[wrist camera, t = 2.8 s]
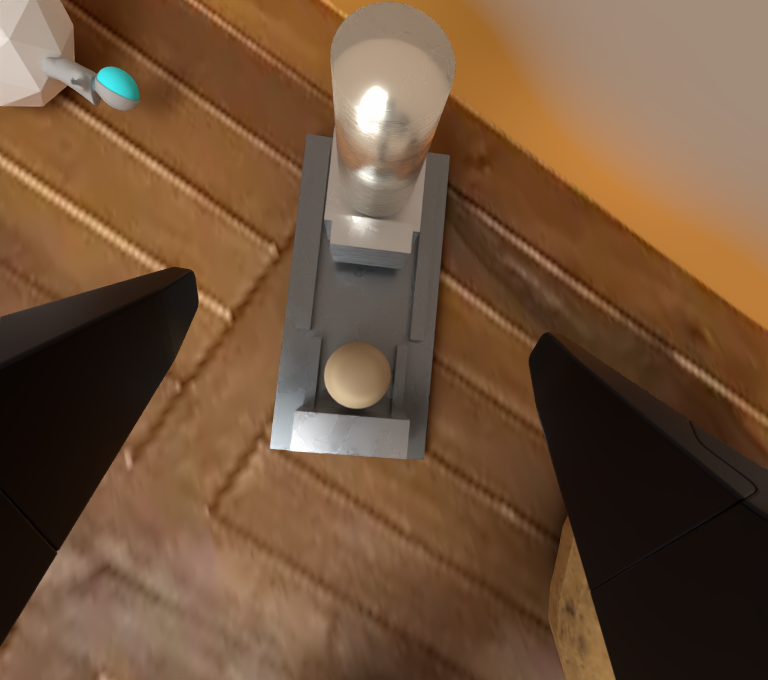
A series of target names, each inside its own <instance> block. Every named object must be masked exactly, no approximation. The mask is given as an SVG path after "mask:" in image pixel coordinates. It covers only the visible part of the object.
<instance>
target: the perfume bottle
mask: <svg viewBox="0 0 768 680" xmlns="http://www.w3.org/2000/svg"><path fill="white" fill-rule="evenodd" d="M66 86H70V87H71V88H72V89H74V90H75V91H77V92H78V93H80V94H81V95H82V96H84V97H85V98H86V99H87V100H89V101H90V102H91V103H92V104H94V105H99V102H100V99H101V98H102V99H103V100H104V101H105V102H106V103H107V104H109V105H110V106H112V107H113V108H116V109H118V110H123V111H128V110H132V109H134V108H135V107H136V106H137V105H138V104H139V103H140V98H139V97H140V94H139V89H138V86H137V84H136V82H135V81H134V79H133V78H132V77H131V76H130V75H129V74H128V73H126V72H125V71H123V70H121V69H119V68H116V67H105V68H103V69H101V70H100V71H99V73H98V74H97V73H95V72H93V71H91V70H89V69H87V68H85V67H83V66H81V65H79V64H78V63H76V62H75V55H74V28H73V23H72V21H71V20H70V18H69V16H68V14H67V12H66V10H65V8H64V6H63V4H62V3H61V1H60V0H0V106H30V107H43V106H45V105H46V104H47V103H48V102H49V101H50V100H51V99H53V98H54V97H55V96H56V95H57V94H58V93H60V92H61V91H62V90H63V89H64V88H65V87H66Z"/></svg>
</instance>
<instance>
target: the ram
mask: <svg viewBox="0 0 768 680" xmlns="http://www.w3.org/2000/svg"><path fill="white" fill-rule="evenodd" d="M331 72H332V87H333V101H334V116H335V127H334V136H333V145H332V154H331V163H330V172H329V181H328V190H327V199H326V208H325V217H324V221H325V227H326V232H327V237H328V240H330V247H331V253H332V258H333V261H337V262H345V263H354V264H362V265H370V266H379V267H387V268H395V269H402V268H403V267H404V265H405V263H406V261H407V259H408V257H409V256H410V254H411V248H412V246H413V244H414V242H415V240H416V238H417V236H418V234H419V233H420V224H421V213H422V202H423V191H424V180H425V169H426V158H427V153H428V150H429V148H430V145H431V142H432V139H433V137H434V134H435V131H436V128H437V126H438V123H439V120H440V117H441V115H442V112H443V109H444V106H445V104H446V101H447V98H448V95H449V93H450V90H451V87H452V84H453V81H454V76H455V57H454V53H453V49H452V46H451V44H450V41H449V39H448V37H447V36H446V34H445V33H444V31H443V30H442V28H441V27H440V26H439V25H438V24H437V23H436V22H435V21H434V20H433V19H432V18H431V17H430V16H428V15H427V14H425V13H424V12H422V11H420V10H418V9H416V8H414V7H412V6H408V5H405V4H401V3H395V2H380V3H374V4H370V5H367V6H365V7H362V8H360V9H358V10H357V11H355V12H353V13H352V14H351V15H350V16H348V17H347V18H346V19H345V20H344V21H343V23H342V24H341V25H340V27H339V28H338V30H337V32H336V34H335V36H334V39H333V42H332V47H331Z"/></svg>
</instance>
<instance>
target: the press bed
mask: <svg viewBox="0 0 768 680" xmlns="http://www.w3.org/2000/svg"><path fill="white" fill-rule="evenodd" d="M332 145H333V138H332V137H325V136H318V135H312V134H307V136H306V145H305V153H304V162H303V170H302V179H301V187H300V196H299V205H298V213H297V222H296V230H295V239H294V247H293V256H292V265H291V273H290V282H289V290H288V299H287V307H286V316H285V324H284V333H283V342H282V350H281V359H280V367H279V376H278V384H277V393H276V402H275V410H274V419H273V427H272V436H271V444H270V448H271V449H285V450H290V451H302V452H316V453H329V454H343V455H357V456H370V457H384V458H398V459H407V458H408V459H421V460H424V453H425V441H426V429H427V417H428V406H429V394H430V382H431V371H432V359H433V347H434V336H435V324H436V312H437V301H438V289H439V277H440V265H441V254H442V242H443V230H444V219H445V207H446V195H447V184H448V172H449V160H450V155H445V154H438V153H431V152H428V153H427V158H426V169H425V180H424V191H423V202H422V213H421V224H420V233H419V234H418V236H417V238H416V240H415V242H414V244H413V246H412V248H411V254H410V256H409V257H408V259H407V261H406V263H405V265H404V267H403V268H402V269H395V268H387V267H379V266H370V265H362V264H354V263H345V262H337V261H333V258H332V253H331V247H330V240H328V237H327V232H326V227H325V221H324V217H325V208H326V199H327V190H328V181H329V172H330V163H331V154H332ZM352 342H363V343H368V344H370V345H372V346H374V347H376V348H377V349H379V350H380V351H381V352H382V353H383V354H384V356H385V357H386V359H387V361H388V363H389V366H390V371H391V379H390V384H389V387H388V390H387V391H386V393H385V395H384V396H383V397H382V398H381V399H380V400H379V401H378V402H377V403H375V404H374V405H371V406H369V407H366V408H361V409H354V408H348V407H345V406H343V405H341V404H339V403H338V402H337V401H335V400H334V399H333V398H332V396H331V395H330V394H329V392H328V390H327V388H326V385H325V380H324V371H325V366H326V364H327V361H328V359H329V357H330V356H331V355H332V354H333V352H334V351H335V350H337V349H338V348H339V347H341V346H343V345H345V344H348V343H352Z"/></svg>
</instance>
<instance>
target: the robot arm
mask: <svg viewBox="0 0 768 680" xmlns="http://www.w3.org/2000/svg"><path fill="white" fill-rule="evenodd" d="M198 302H199V300H198V292H197V285H196V278H195V274H194V272H193V271H192V270H190V269H185V268H179V267H171V268H167V269H164V270H160V271H157V272H154V273H150V274H147V275H143V276H140V277H136V278H133V279H129V280H126V281H122V282H119V283H115V284H112V285H109V286H105V287H102V288H98V289H95V290H91V291H88V292H84V293H81V294H77V295H74V296H71V297H67V298H64V299H60V300H57V301H53V302H50V303H46V304H43V305H39V306H36V307H32V308H29V309H26V310H22V311H19V312H15V313H12V314H8V315H5V316H2V317H1V318H0V647H1V645H2V644H3V642H4V641H5V639H6V637H7V636H8V634H9V632H10V631H11V629H12V627H13V626H14V624H15V622H16V621H17V619H18V617H19V616H20V614H21V613H22V611H23V609H24V608H25V606H26V604H27V603H28V601H29V599H30V598H31V596H32V594H33V593H34V591H35V590H36V588H37V586H38V585H39V583H40V581H41V580H42V578H43V576H44V575H45V573H46V571H47V570H48V568H49V566H50V565H51V563H52V562H53V560H54V558H55V557H56V555H57V551H58V550H59V549H60V548H61V546H62V544H63V543H64V541H65V540H66V538H67V536H68V535H69V533H70V531H71V530H72V528H73V526H74V525H75V523H76V521H77V520H78V518H79V516H80V515H81V513H82V512H83V510H84V508H85V507H86V505H87V503H88V502H89V500H90V498H91V497H92V495H93V493H94V492H95V490H96V489H97V487H98V485H99V484H100V482H101V480H102V479H103V477H104V475H105V474H106V472H107V470H108V469H109V467H110V465H111V464H112V462H113V461H114V459H115V457H116V456H117V454H118V452H119V451H120V449H121V447H122V446H123V444H124V442H125V441H126V439H127V438H128V436H129V434H130V433H131V431H132V429H133V428H134V426H135V424H136V423H137V421H138V419H139V418H140V416H141V414H142V413H143V411H144V410H145V408H146V406H147V405H148V403H149V401H150V400H151V398H152V396H153V395H154V393H155V391H156V390H157V388H158V387H159V385H160V383H161V382H162V380H163V378H164V377H165V375H166V373H167V372H168V370H169V368H170V367H171V365H172V363H173V362H174V360H175V358H176V356H177V354H178V352H179V350H180V347H181V345H182V343H183V340H184V338H185V336H186V334H187V331H188V329H189V327H190V324H191V322H192V320H193V318H194V315H195V313H196V311H197V308H198ZM529 367H530V373H531V379H532V385H533V391H534V396H535V402H536V407H537V412H538V415H539V419H540V422H541V426H542V429H543V433H544V436H545V440H546V443H547V446H548V450H549V453H550V457H551V460H552V463H553V467H554V470H555V474H556V477H557V481H558V484H559V487H560V491H561V494H562V498H563V501H564V504H565V508H566V511H567V515H568V518H569V521H570V525H571V528H572V532H573V535H574V539H575V542H576V545H577V549H578V552H579V556H580V559H581V562H582V566H583V569H584V573H585V576H586V580H587V583H588V586H589V589H590V590H591V591H590V594H591V597H592V601H593V604H594V608H595V611H596V615H597V618H598V621H599V625H600V628H601V632H602V635H603V638H604V642H605V645H606V649H607V652H608V656H609V659H610V662H611V666H612V669H613V673H614V676H615V680H768V470H767V469H765V468H764V467H762V466H760V465H759V464H757V463H756V462H754V461H752V460H751V459H749V458H748V457H746V456H744V455H743V454H741V453H740V452H738V451H736V450H735V449H733V448H732V447H730V446H729V445H727V444H726V443H724V442H723V441H721V440H719V439H718V438H716V437H715V436H713V435H712V434H710V433H709V432H707V431H706V430H704V429H703V428H701V427H700V426H698V425H697V424H695V423H694V422H692V421H688V419H687V418H686V417H685V416H683V415H682V414H680V413H679V412H677V411H676V410H674V409H673V408H671V407H670V406H668V405H667V404H665V403H664V402H662V401H661V400H659V399H658V398H656V397H655V396H653V395H652V394H650V393H649V392H647V391H646V390H644V389H643V388H641V387H640V386H638V385H637V384H635V383H634V382H632V381H631V380H629V379H628V378H626V377H625V376H623V375H622V374H620V373H619V372H617V371H616V370H614V369H613V368H611V367H610V366H608V365H607V364H605V363H604V362H602V361H601V360H599V359H598V358H596V357H595V356H593V355H592V354H590V353H589V352H587V351H586V350H584V349H583V348H581V347H580V346H578V345H577V344H575V343H574V342H572V341H571V340H569V339H568V338H566V337H565V336H563V335H561V334H557V333H551V332H546V333H544V334H543V335H542V336H541V338H540V339H539V341H538V342H537V344H536V346H535V347H534V349H533V351H532V352H531V354H530V357H529Z"/></svg>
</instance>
